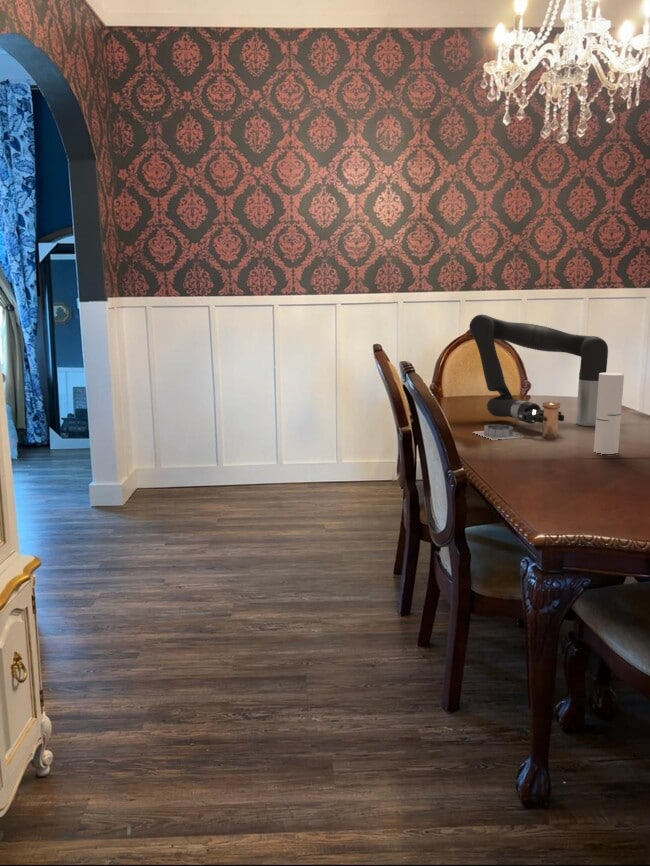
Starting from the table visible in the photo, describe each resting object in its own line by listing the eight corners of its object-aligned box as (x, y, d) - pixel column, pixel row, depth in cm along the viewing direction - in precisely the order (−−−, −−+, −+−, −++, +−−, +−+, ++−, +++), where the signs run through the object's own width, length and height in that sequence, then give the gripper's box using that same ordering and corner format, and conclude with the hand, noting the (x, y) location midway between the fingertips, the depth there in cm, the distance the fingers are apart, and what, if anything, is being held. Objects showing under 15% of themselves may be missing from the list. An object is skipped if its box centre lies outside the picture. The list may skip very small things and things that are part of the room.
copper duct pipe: (551, 434, 247) (553, 401, 245) (561, 438, 242) (563, 404, 239) (537, 436, 245) (539, 402, 243) (547, 439, 240) (549, 405, 238)
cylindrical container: (620, 455, 216) (626, 375, 211) (595, 454, 217) (601, 375, 212) (615, 450, 223) (621, 372, 218) (591, 449, 224) (597, 372, 219)
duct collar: (503, 430, 255) (504, 422, 255) (524, 437, 243) (525, 429, 243) (472, 433, 251) (473, 425, 251) (492, 440, 239) (492, 431, 239)
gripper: (509, 402, 253) (535, 409, 238) (542, 400, 257) (570, 407, 242) (508, 422, 255) (534, 431, 239) (541, 420, 259) (569, 428, 244)
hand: (552, 419), depth 241 cm, fingers open, 8 cm apart
